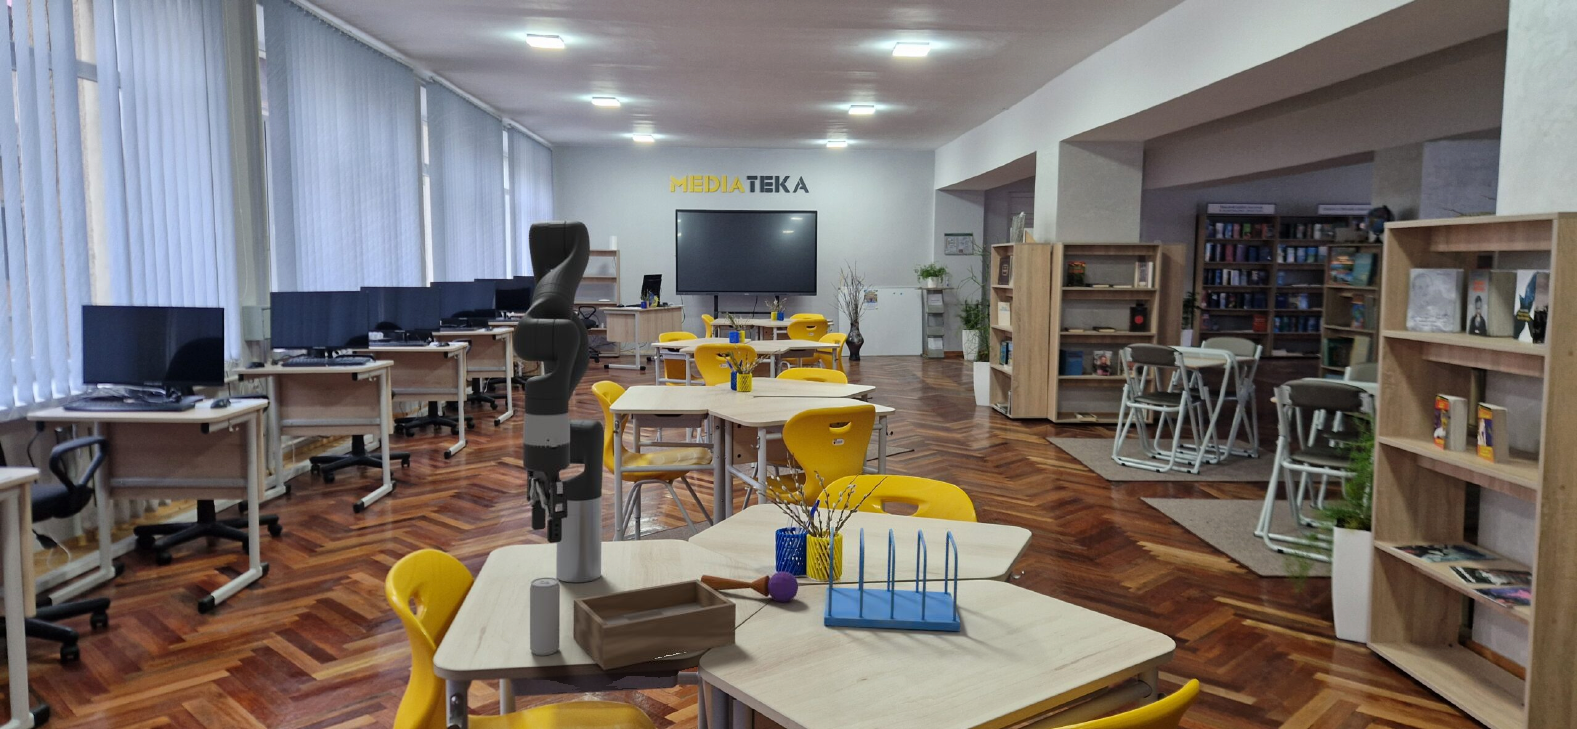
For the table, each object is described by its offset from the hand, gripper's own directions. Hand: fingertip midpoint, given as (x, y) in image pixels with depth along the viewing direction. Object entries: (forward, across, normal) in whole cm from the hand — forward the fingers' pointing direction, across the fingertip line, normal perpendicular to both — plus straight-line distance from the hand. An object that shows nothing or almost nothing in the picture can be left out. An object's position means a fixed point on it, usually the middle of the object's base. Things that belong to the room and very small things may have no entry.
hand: (546, 535), depth 156 cm
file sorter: (+20, +13, +63) cm, 68 cm away
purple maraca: (+20, -8, +44) cm, 49 cm away
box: (+20, +4, +18) cm, 27 cm away
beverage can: (+20, 0, 0) cm, 20 cm away
